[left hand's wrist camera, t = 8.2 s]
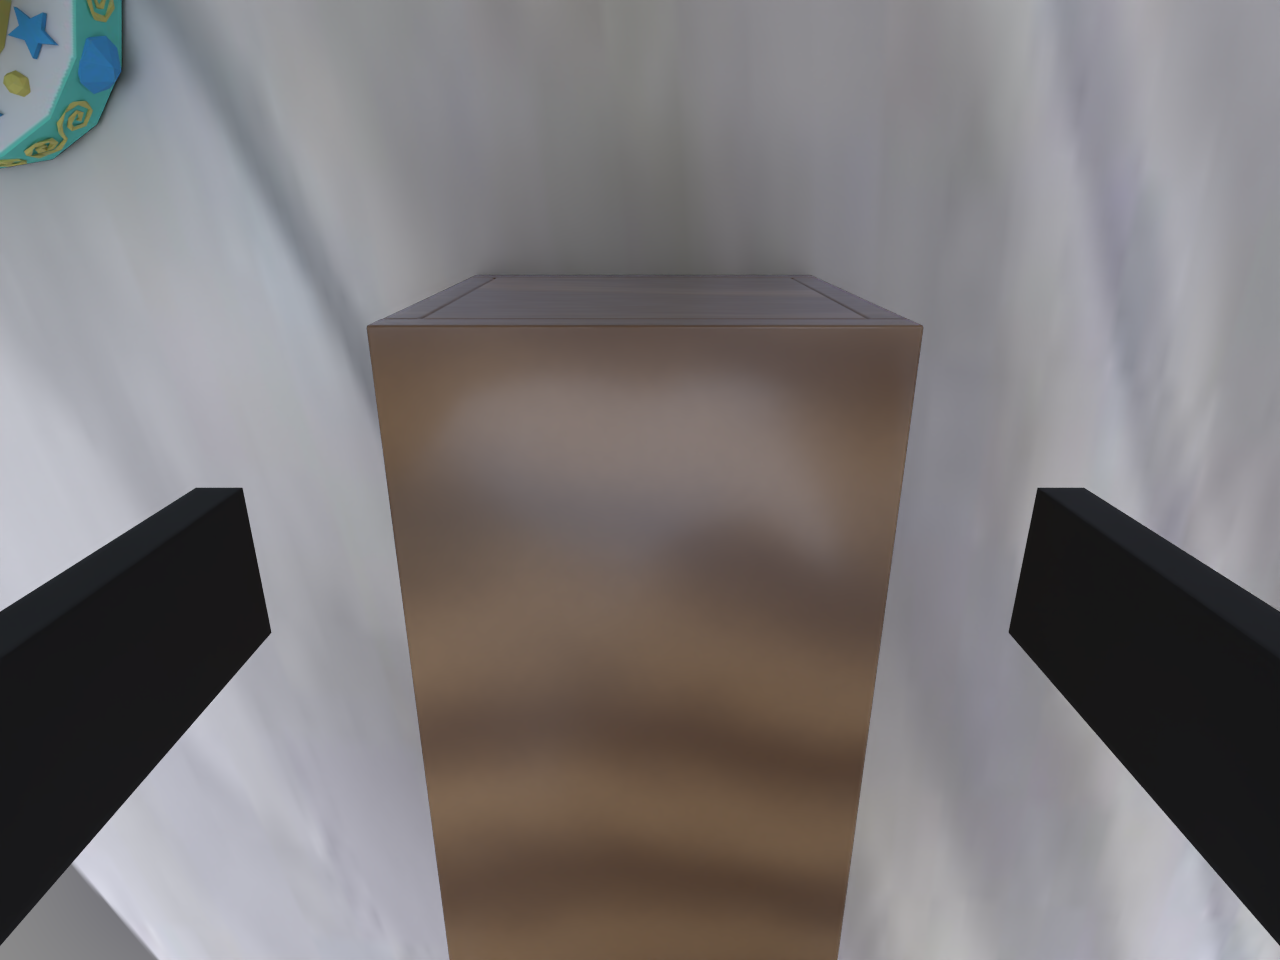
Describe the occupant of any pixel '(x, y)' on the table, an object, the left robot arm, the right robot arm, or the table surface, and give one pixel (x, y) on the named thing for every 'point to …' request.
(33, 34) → the decorative hourglass
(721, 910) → the cabinet
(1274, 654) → the left robot arm
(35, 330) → the table surface
